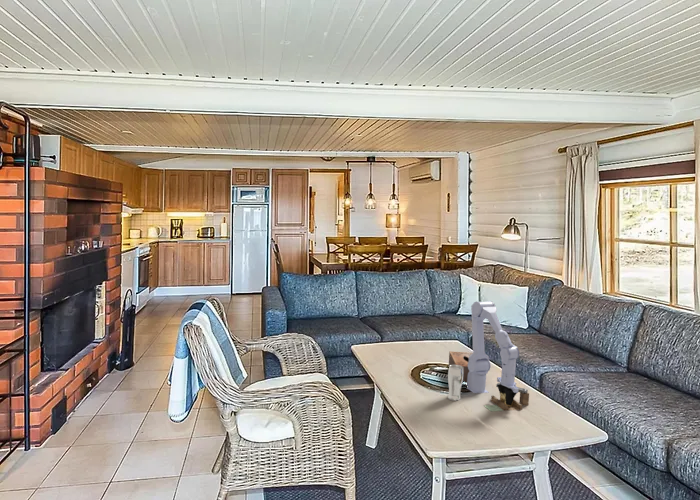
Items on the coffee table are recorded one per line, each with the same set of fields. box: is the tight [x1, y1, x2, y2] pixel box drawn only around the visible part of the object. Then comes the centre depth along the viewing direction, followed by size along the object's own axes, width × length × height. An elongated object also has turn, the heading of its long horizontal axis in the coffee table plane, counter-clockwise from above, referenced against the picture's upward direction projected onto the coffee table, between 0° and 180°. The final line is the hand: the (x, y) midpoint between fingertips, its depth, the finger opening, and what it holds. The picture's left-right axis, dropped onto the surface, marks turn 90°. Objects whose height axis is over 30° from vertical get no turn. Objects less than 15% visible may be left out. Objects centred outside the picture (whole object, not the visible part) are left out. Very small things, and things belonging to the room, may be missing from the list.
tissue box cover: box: [448, 351, 473, 382], centre depth 254 cm, size 26×14×10 cm, turn 176°
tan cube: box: [499, 392, 513, 406], centre depth 217 cm, size 4×4×5 cm
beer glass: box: [447, 364, 464, 402], centre depth 222 cm, size 7×7×15 cm
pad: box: [484, 404, 504, 412], centre depth 212 cm, size 6×6×1 cm
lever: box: [495, 382, 529, 393], centre depth 222 cm, size 3×14×1 cm, turn 56°
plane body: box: [490, 392, 530, 411], centre depth 217 cm, size 12×15×6 cm
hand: (506, 402), depth 217 cm, fingers closed on tan cube, 4 cm apart
